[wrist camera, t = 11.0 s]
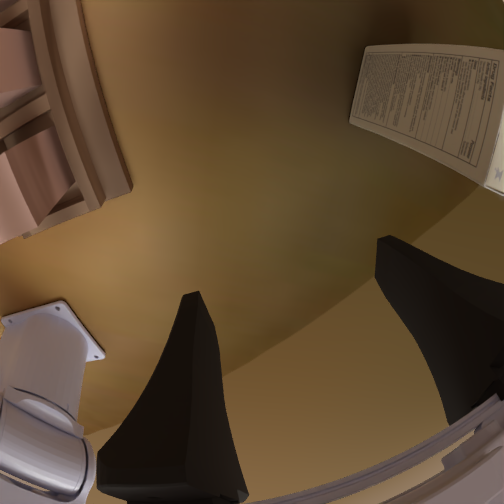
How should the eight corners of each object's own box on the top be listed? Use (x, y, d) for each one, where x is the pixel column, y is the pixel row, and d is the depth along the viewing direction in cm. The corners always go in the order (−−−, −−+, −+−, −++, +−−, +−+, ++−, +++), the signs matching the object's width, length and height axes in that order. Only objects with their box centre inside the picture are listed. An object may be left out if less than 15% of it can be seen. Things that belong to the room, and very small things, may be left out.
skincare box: (392, 136, 20) (520, 209, 10) (344, 121, 18) (481, 192, 9) (410, 63, 16) (551, 96, 6) (362, 40, 15) (515, 49, 5)
